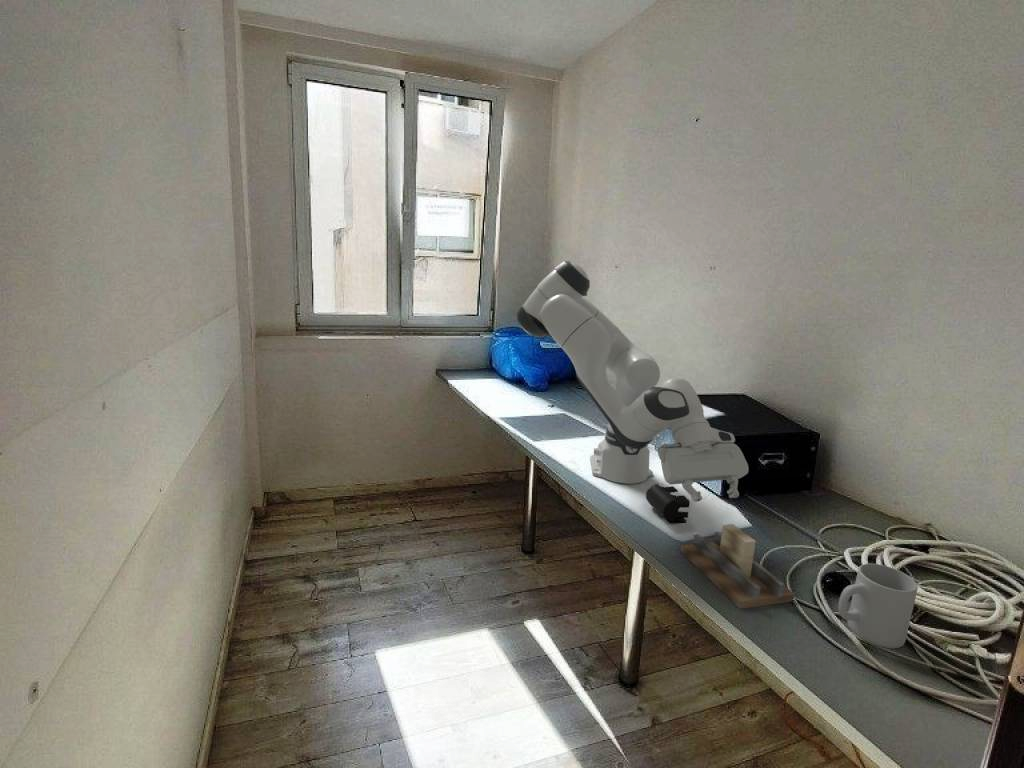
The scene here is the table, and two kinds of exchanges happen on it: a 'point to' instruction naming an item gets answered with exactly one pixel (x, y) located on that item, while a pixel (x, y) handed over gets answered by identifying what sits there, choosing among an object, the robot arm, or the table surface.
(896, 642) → the mug
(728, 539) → the beige rectangular block
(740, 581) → the track board
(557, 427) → the table surface
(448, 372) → the table surface
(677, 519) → the black notched cylinder
